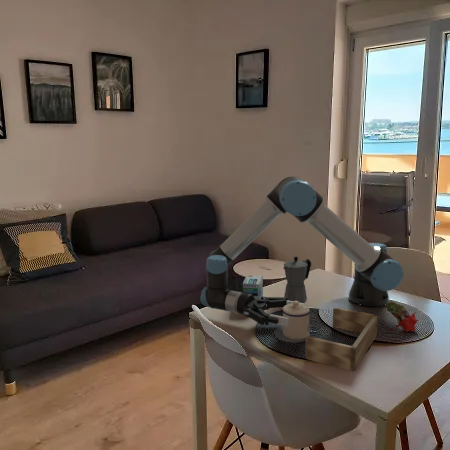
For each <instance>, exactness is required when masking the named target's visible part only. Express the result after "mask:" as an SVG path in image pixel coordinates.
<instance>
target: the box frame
mask: <svg viewBox="0 0 450 450" xmlns="http://www.w3.org/2000/svg"><path fill="white" fill-rule="evenodd" d="M378 316H379V315H378V314H373V313H367V312H363V311H359V310H358V311H356V310H354V309H353V310H351V309H346V308H342V307H335V306H334V307H333V308H332V328H335V327H339V328H342V329H341V330H344V329H347V330H346V331H349V330H352V331H351V332H353V331H356V332H355V333H358V332H361V333H359V335H358V337H357V338H356V339H355V341H354V343H353V344H352V345H349V344H344V343H340V342H336V341H332V340H327V339H323V338H318V337H314V336H311V335H310V336H306V341H305V352H304V353H305V354H304V356H305V359H306V360H307V361H308V360H309V361H313V362H315V363H319V364H324V365H328V366H332V367H336V368H340V369H343V370H346V371H352V372H355V371H356V370H357V368H358V366H359V364H361V361H362V359H363V358H364V357H365V355H366V353H367V351H368V350H369V348H370V347H371V346H372V344H373V342H374V340H375V339H376V337H377V335H378V322H379V321H378V319H379V317H378ZM339 328H338V329H339Z"/></svg>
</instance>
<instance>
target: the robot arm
mask: <svg viewBox="0 0 450 450" xmlns="http://www.w3.org/2000/svg"><path fill="white" fill-rule="evenodd" d="M286 213H288V214H290V215H292V216H293V217H294V218H295V219H296V220H297V221H299V222H300V223H308V224H309V226H311V227H312V228H313V229H315V230H316V231H317V232H318V233H320V234H321V235H322V236H323V238H325V239H326V240H327V241H329V243H331V244H332V245H333V246H334V247H335V248H337V249H338V250H339V251H340V252H341V253H343V254H344V255H345V256H346V257H347V258H348V259H349V260H351V261H352V263H354V271H353V273H354V274H353V282H352V284H351V287H350V289H349V292H348V300H349V299H350V300H351V301H352V302H351V301H350V300H349V301H350V302H351V303H353V302H355V303H357V304H356V305H358V304H361V305H366V306H365V307H367V306H379V307H382V306H381V305H384V306H386V305H385V304H387V303H389V302H390V300H389V299H390V297H389V293H388V291H392V290H394V289H396V288H397V287H399V286H400V284H401V283H402V281H403V279H404V273H405V272H404V268H403V267H402V265H401V264H400V262H398V261H397V260H396V259H394V258H393V257H392V256H391V255H390V254H388V252H387V251H388V247H387V245H386V244H384V243H378V242H377V243H376V242H368V241H367V240H366V239H365V238H363V237H362V236H361V235H360V234H359V233H358V232H357V231H356V230H355V229H353V228H352V227H351V226H350V225H349V224H348V223H346V222H345V221H344V220H343V219H342V218H341V217H340V216H338V215H337V214H336V213H335V212H334V211H333V210H331V209H330V207H328V206H327V205H326V204H325V198H324V197H323V195H321V194H320V193H319V192H318V191H317V190H315V189H314V188H313V186H312V185H311V184H310V183H309V182H308V181H305V180H303V179H302V178H300V177H299V176H298V177H297V176H287V177H285V178H283V179H281V181H279V182H278V183H277V184H276V186H275V187H274V188H273V189H272V190H271V191H270V192H269V193H268V194H267V195H266V197H265V201H264V202H263V203H262V204H260V206H259V207H258V208H256V210H254V212H252V214H251V215H250V216H248V217H247V219H245V221H244V222H243V223H241V225H239V227H237V228H236V229H235V231H234V232H232V233H231V234H230V236H229V237H228V238H227V239H225V241H223V242H222V243H221V244H220V245H219V246H218V247H217V248H216V249H215V250H213V251H211V252H210V253H209V254H208V256H207V258H206V264H205V269H206V286H204V287H203V288H202V289H201V295H200V303H201V304H202V305H203V306H205V307H206V308H207V307H208V308H210V309H215V310H221V311H225V312H229V313H233V314H239V315H243V317H246V318H250V319H251V320H253V321H254V322H255V323H257V324H259V325H261V326H269V325H270V324H274V325H278V326H281V327H283V326H286V327H288V326H289V318H286V317H283V315H282V316H281V315H276V314H271V313H270V314H267V312H266V311H269V310H270V309H277V308H278V309H280V308H283V307H284V306H285V305H288V304H292V303H293V301H288V297H284V296H281V297H280V296H279V297H278V296H277V297H276V296H273V297H271V296H264V295H263V296H262V297H261V299H258V300H256V299H255V298H254V296H253V295H251V294H246V293H243V292H241V291H236V290H230V289H229V288H228V287H229V286H228V266H229V265H230V264H231V263H232V262H233V261H234V260H235V259H236V258H237V257H238V256H239V255H240V254H241V253H242V252H243V251H245V249H246V248H248V246H249V245H250V244H252V243H253V242H254V241H255V240H256V238H258V237H259V235H261V233H263V232H264V231H265V230H266V229H267V228H268V227H269V226H270V225H271V224H272V223H273V222H274V221H275V220H276V219H277V218H278V217H279V216H283V215H285V214H286ZM355 303H354V304H355ZM300 304H302V305H305V306H306V304H305V302H304V303H300ZM361 305H360V306H361Z"/></svg>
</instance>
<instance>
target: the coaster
mask: <svg viewBox="0 0 450 450" xmlns="http://www.w3.org/2000/svg"><path fill="white" fill-rule="evenodd" d="M274 335H275V336H274ZM273 336H274V337H275V338H276V339H277V338H278V339H277V340H279V341H281V340H282V341H281V342H284V341H285V342H284V343H289V342H290V343H291V344H292V343H293V344H295V343H297V344H298V343H302V342H306V338H304V339H300V340H294V339H289V338H287V337H285V336H284V335H283V326H280V327H278V328H276V329H274V332H273ZM308 336H310V337H311V332H310V331H309V335H308Z"/></svg>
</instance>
